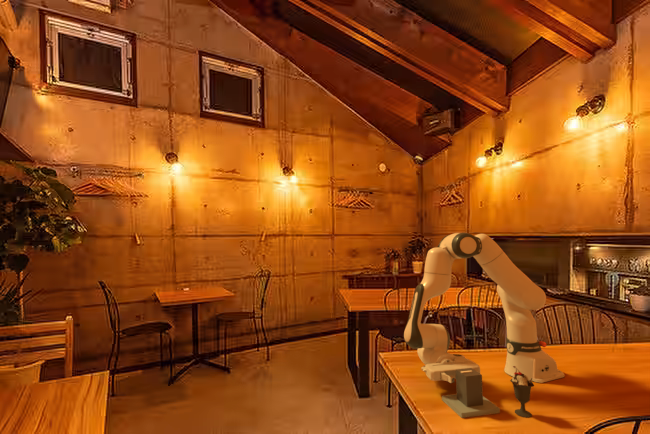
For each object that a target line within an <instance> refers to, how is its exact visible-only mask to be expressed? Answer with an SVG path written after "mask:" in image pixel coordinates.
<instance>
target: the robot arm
mask: <svg viewBox="0 0 650 434" xmlns="http://www.w3.org/2000/svg"><path fill="white" fill-rule="evenodd" d="M472 257H473V259H475V261H476V262H477V264H479V266H480V267H481V269H483V271H484V272H485V273H486V274H487V276H488V277H489V278H490V280H492V281H493V282H494V283H495V284H497V285H496V292H497V295H498V297H499V299H500V301H501V304H502V309H503V312H504V316H505V324H506V337H505V344H506V345H505V346H506V347H505V348H506V359H505V360H506V361H505V366H504V369H503V371H504V372H505V374H506V375H509V376H510V377H513V376H514V375H515V374H514V373H515V372H516V370H517V369H518V370H517V373H518V372H521V373H522V374H524V375H526V376H527V378H528V380H529V381H530V380H531V378H532V380H531V382H535V383H539V384H540V383H541V384H543V383H547V382H550V381H553V380H558V379H561V378H562V379H563V378H565V373H564V372H563V371H561V370H560V369H558V364H557V362H556V360H555V359H554V357H552V356H550V354H548V353H547V352H545V351H544V350H543V349H542V347H543V348H546V347H547V345H548V344H547V342H545V341H540V340H538V332H537V331H538V330H537V321H536V319H535V318H534V316H533V314H532V311H536V310H537V311H538V310H541V309H542V308H543V307H544V306H545V304H546V302H547V295H546V293H545V291H544V289H542V288H541V287H540V286H538V284H535V282H534V281H532V280H531V279H530V278H529V277H528V275H526V274H525V273H524V272H523V271H522V270H521V269H520V268H518V267H517V266H516V264H515V263H513V261H512V260H511V259H510V258H509V256H508V255H507V254H506V252H504V250H503V249H502V248H501V247H500V245H498V243H497V242H496V241H495V240H494V239H492V238H491V237H490V236H489V235H488V234H486V233H478V234H475V235H474V234H471V233H468V232H455V233H452V234H447V235H445V236H444V237H443V238H442V239H441V240H440V242H439V244H438V246H435V247H433V248H430V249H429V250H428V251H427V254H426V257H425V261H424V263H425V264H424V272H423V277H422V280H421V282H420V283H419V284H417V286H416V287H415V289H414V293H413V296H412V300H411V305H410V310H409V314H408V318H407V322H406V325H405V327H404V332H403V340H404V342H405V343H406V345H408V346H409V348H411V349H413V350H415V349H416V350H417V355H418V357H419V360H421V362H422V363H423V364H424V365H423V366H422V367H421V368H420V369H421V371H423V372H424V373H425V375H426V377H427V378H428V379H429V380H430V381H433V382H437V381H446V382H448V383H450V384H453V383H455V380H456V369H465V368H472V369H474V370H475V371H477V372H478V373H480V374H481V367H480V365H479V364H478V363H477V362H474V361H473V360H471V359H469V358H466V356H465V355H463V354H460V353H459V354H458V353H450V352H448V351H449V348H450V343H451V337H450V333H449V331H448V330H447V328H446V327H445V326H444V325H443V324H441V323H422V322H421V321H422V317H423V313H424V308H425V305H426V303H427V302H428V301H429V300H431V299H433V298H437V297H439V296H441V295H443V294H445V293H446V292H447V291H448V290H449V289H450V288H451V284H452V267H453V264H454V261H456V260H461V259H470V258H472ZM531 310H532V311H531ZM513 366H515V367H516V368H517V369H515V368H514V367H513Z"/></svg>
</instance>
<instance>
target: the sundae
mask: <svg viewBox="0 0 650 434" xmlns="http://www.w3.org/2000/svg"><path fill="white" fill-rule="evenodd" d="M513 367H514V368H515V369H517V368H516V367H515V366H513ZM517 370H518V369H517ZM517 370H516V372H515V373H514V374H515V375H514V376H512V378H511V379H510V380H509V382H511V383H512V387H513V392H514V395H515V396H514V397H515V399H516V400H517V401H518V402H519V403H520V408H518V409H515V410H514V413H515V415H517V416H519V417H522V418H526V419H527V418H531V417H532V416H533V414H532V412H530V411H528V410H526V403H529V402H530V399H531V390H532V388H534V387H535V385H534V383H533V381H531V380H532V378H531V380H528V378H527V376H526V375H524V374H522V373H521V372H518V373H517Z"/></svg>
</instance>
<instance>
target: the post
mask: <svg viewBox="0 0 650 434" xmlns="http://www.w3.org/2000/svg"><path fill="white" fill-rule="evenodd" d="M441 401H443V403H445V404H446V405H447V406H448V407H449V408H450V409H451V410H452V411H453V412H454V413H455V414H457V415H458V416H459V418H461V419H463V418H471V417H472V418H473V417H479V416H486V415H487V416H488V415H493V414H500V413H501V408H500V407H498V406H497V405H496V404H494V402H492V401H491V400H489V399H488V398H486V397H485V396H483V405H480V406H472V407H466V406H465V405H464V404H463V403H462V402H460V401H459V400H458V399H457V393H454V394H447V395H444V394H443V395H441Z"/></svg>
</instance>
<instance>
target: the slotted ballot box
mask: <svg viewBox="0 0 650 434" xmlns="http://www.w3.org/2000/svg"><path fill="white" fill-rule="evenodd" d="M455 381H456V382H455V383H456V386H455V387H456V388H455V389H456V394H457V399H458V400H459V401H460V402H462V403H463V404H464V405H465V406H466V407H472V406H480V405H483V397H484V396H483V395H484V394H483V392H484V391H483V374H481V372H480V373H478V372H477V371H475V370H474V369H472V368H465V369H456V379H455Z"/></svg>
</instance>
